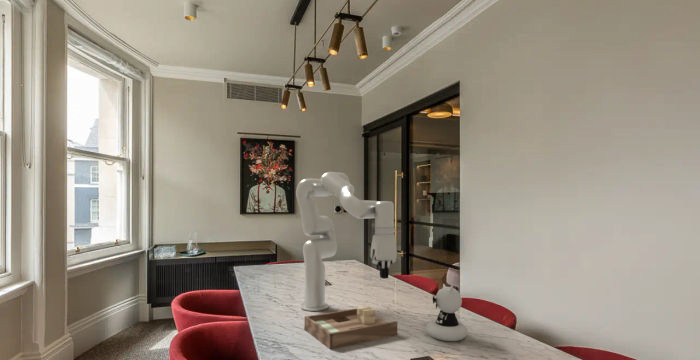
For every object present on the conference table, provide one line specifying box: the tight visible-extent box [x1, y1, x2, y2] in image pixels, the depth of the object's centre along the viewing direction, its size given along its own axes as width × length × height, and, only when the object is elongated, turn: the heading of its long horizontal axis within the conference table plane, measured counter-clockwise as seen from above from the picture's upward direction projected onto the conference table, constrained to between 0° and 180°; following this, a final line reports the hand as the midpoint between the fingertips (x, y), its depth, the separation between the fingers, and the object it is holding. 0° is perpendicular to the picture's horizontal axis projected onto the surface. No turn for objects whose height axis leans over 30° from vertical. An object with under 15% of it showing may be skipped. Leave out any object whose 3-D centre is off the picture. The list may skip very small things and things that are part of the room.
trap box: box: [303, 308, 398, 350], centre depth 146 cm, size 22×28×5 cm
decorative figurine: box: [426, 282, 468, 342], centre depth 144 cm, size 15×15×20 cm
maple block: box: [356, 306, 376, 324], centre depth 150 cm, size 5×5×5 cm
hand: (384, 277), depth 155 cm, fingers closed
